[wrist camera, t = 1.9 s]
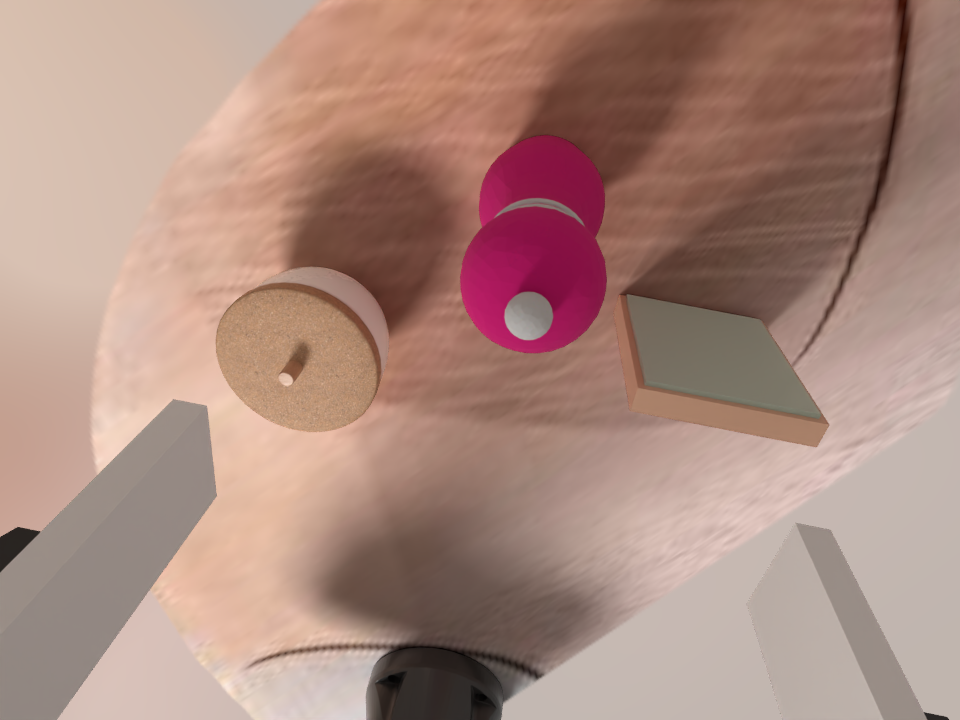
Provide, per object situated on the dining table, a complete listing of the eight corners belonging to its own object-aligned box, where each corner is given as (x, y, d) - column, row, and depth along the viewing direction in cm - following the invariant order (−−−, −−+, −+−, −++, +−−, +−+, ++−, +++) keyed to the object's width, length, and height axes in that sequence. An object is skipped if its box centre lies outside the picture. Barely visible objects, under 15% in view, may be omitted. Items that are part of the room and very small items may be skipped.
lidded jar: (250, 245, 43) (178, 299, 35) (396, 244, 42) (356, 299, 33) (282, 373, 48) (226, 445, 40) (412, 375, 47) (381, 451, 39)
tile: (754, 340, 42) (816, 447, 32) (613, 313, 42) (629, 411, 32) (764, 317, 41) (832, 420, 31) (620, 290, 41) (639, 382, 31)
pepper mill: (499, 114, 36) (442, 205, 19) (615, 139, 36) (662, 253, 19) (478, 227, 40) (415, 388, 23) (583, 250, 40) (598, 429, 23)
